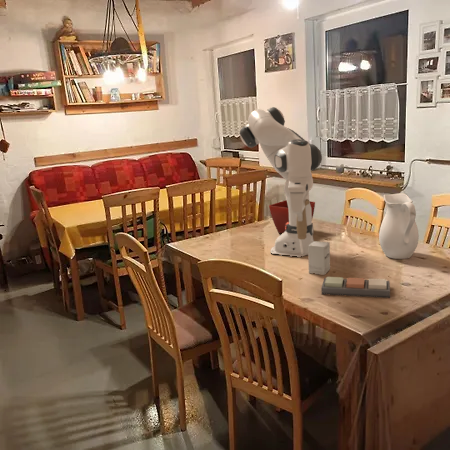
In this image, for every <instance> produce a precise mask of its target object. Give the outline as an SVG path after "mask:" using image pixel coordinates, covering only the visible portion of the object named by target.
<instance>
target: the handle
mask: <svg viewBox="0 0 450 450" xmlns="http://www.w3.org/2000/svg"><path fill="white" fill-rule="evenodd" d="M309 201H310V199H309V200H308V199H306V201H305V208H304V210H303V212H302V214H303V220H302V221H298V217H297V222H296V226H297V234H298V239H305V238H306V233H307V220H306V205H308V204H309Z"/></svg>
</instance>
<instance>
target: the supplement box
mask: <svg viewBox="0 0 450 450" xmlns="http://www.w3.org/2000/svg"><path fill="white" fill-rule="evenodd" d="M313 241H314V242H312V243H311V244H310V245H309V246H308V255H307V256H308V273H309V274H313V273H315V274H314V275H320V276H321V275H322V276H325V275H326V274H328V272H329V271H330V270H331V251H330V242H328V241H316V240H313Z"/></svg>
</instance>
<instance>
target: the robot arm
mask: <svg viewBox="0 0 450 450" xmlns="http://www.w3.org/2000/svg"><path fill="white" fill-rule="evenodd" d="M285 122H286V121H285V116H284V114H283V112H282V111H281V110H280V109H279V108H277V107H274V106H272V107H270V108H268V109H267V110H264V109H261V108H260V109H258V108H257V109H254V110H253V111H252V112H251V113H249V115H248V119H247V124H246V125H244V126H243V127H242V128H240V130H239V137H240V140H241V142H242V143H243V144H244V145H245V146H246V147H247V148H251V149H252V148H254V147H256V146H258V144H259V145H260V148H261V150H262V151H263V154H264V155H265V157H266V159H267V160H268V162H269V163H270V165H271V166H272V168H273V169H274V170H275V172H277V174H278V175H280V177H282V178H283V179H284V180H285V182H284V185H283V191H284V194H285V200H287V204H288V210H289V222H287V223H286V226H285V232H284V233H283V234H280V235H279V236H277V238H276V239H275V240H274V241H275V242H274V245H273V246H272V247H271V248H270V252H271V253H272V254H281V255H280V256H282V255H290V256H289V257H292V256H297V257H296V258H302V257H304V256H308V246H309V245H310V244H311V243H312V242H314V241H315V240H314V224H313V218H312V211H311V205H310V191H311V189H312V188H313V186H314V178H313V174H312V171H313V172H314V171H316V170H317V169H318V168H319V166H320V165H321V163H322V160H323V155H322V152H321V150H320V148H319V147H318V146H316V145H315V144H312V143H309V141H307V140H305V138H303V137H302V136H301V135H299V134H298V133H297V132H296V131H294V130H293V129H290V128H289V127H286V126H285V124H286V123H285ZM306 199H308V200H309V204H308V205H306V220H307V233H306V238H305V239H298V234H297V226H296V222H297V217H298V221H302V220H303V214H302V212H303V210H304V208H305V201H306ZM271 253H270V254H271ZM272 254H271V255H272ZM301 256H302V257H301Z"/></svg>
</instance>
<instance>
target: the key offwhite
mask: <svg viewBox="0 0 450 450" xmlns="http://www.w3.org/2000/svg"><path fill="white" fill-rule="evenodd" d="M368 280H369V284H368V289H387V284H386V281H387V278H368Z"/></svg>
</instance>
